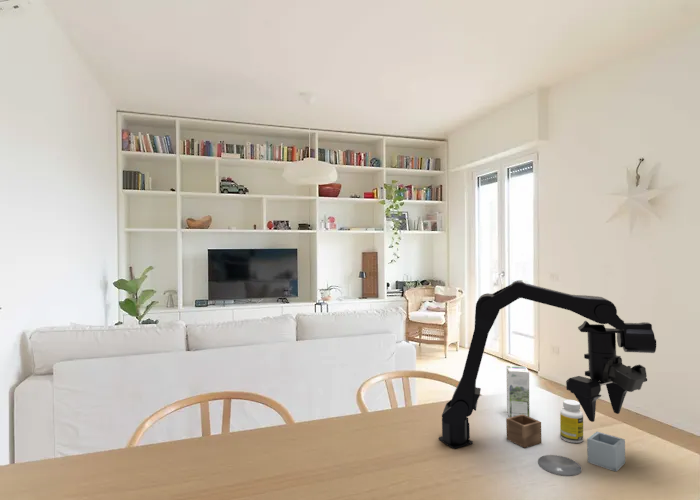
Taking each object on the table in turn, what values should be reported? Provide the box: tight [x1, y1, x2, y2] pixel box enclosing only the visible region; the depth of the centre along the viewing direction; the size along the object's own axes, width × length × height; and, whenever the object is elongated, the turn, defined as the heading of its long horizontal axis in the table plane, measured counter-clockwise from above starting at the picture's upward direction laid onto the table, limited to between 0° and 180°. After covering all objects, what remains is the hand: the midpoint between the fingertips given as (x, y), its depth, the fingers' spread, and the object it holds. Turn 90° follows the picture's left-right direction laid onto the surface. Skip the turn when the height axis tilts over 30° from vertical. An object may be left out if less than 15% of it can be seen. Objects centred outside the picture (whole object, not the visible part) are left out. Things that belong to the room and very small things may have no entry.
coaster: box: [537, 454, 582, 477], centre depth 100 cm, size 9×9×1 cm
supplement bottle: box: [559, 399, 584, 444], centre depth 114 cm, size 5×5×10 cm
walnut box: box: [505, 414, 543, 449], centre depth 113 cm, size 6×6×6 cm
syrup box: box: [506, 365, 531, 418], centre depth 130 cm, size 6×6×14 cm
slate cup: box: [586, 431, 626, 473], centre depth 101 cm, size 6×6×6 cm
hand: (604, 417), depth 101 cm, fingers open, 9 cm apart
